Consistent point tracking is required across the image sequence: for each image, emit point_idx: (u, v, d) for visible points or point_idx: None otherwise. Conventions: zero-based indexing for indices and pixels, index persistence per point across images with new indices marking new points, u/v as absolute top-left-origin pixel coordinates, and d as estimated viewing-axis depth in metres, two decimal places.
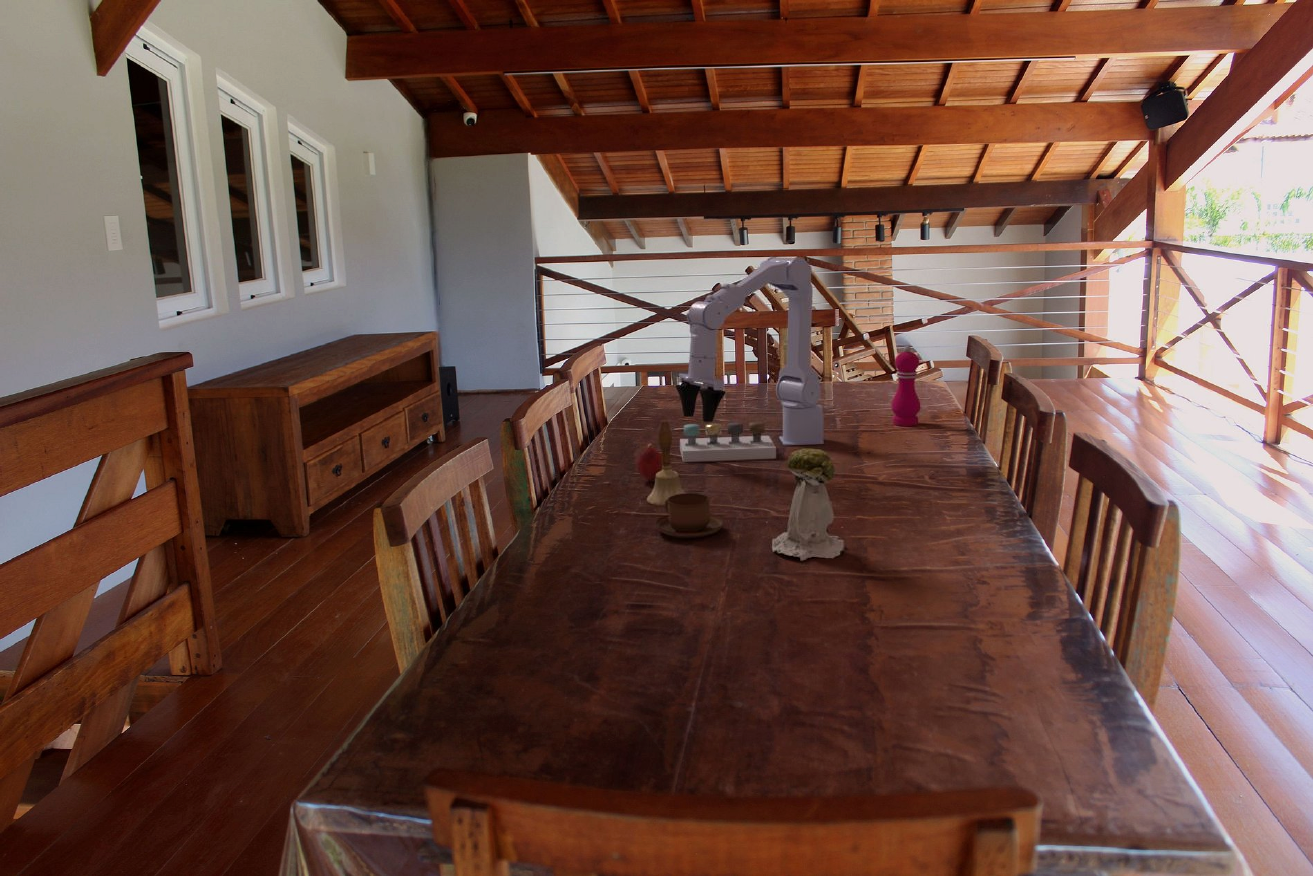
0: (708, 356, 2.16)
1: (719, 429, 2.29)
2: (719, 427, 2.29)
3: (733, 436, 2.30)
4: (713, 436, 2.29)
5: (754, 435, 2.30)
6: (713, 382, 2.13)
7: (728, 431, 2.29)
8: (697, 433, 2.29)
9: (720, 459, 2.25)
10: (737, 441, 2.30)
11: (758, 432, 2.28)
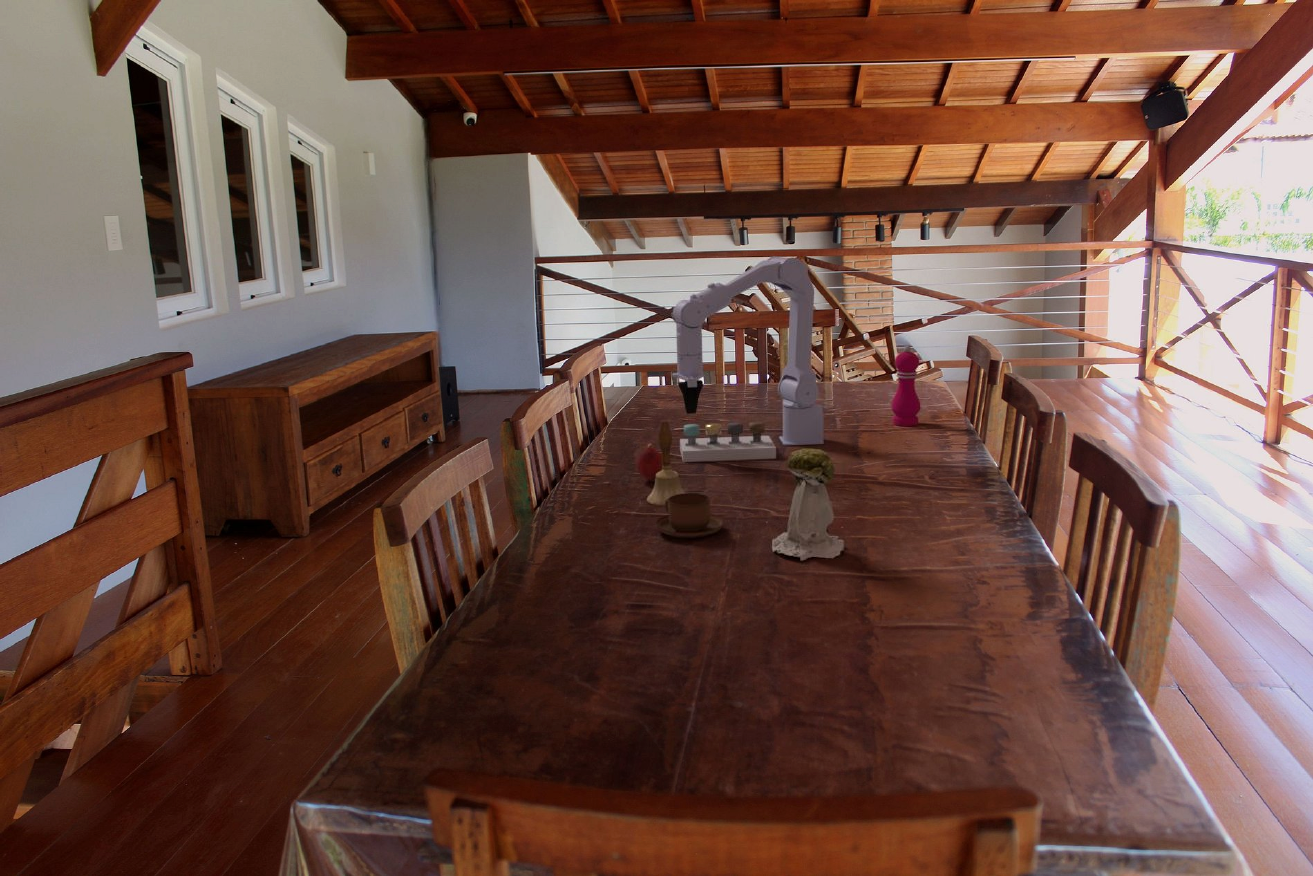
0: (691, 353, 2.23)
1: (719, 429, 2.29)
2: (719, 427, 2.29)
3: (733, 436, 2.30)
4: (713, 436, 2.29)
5: (754, 435, 2.30)
6: (687, 379, 2.21)
7: (728, 431, 2.29)
8: (697, 433, 2.29)
9: (720, 459, 2.25)
10: (737, 441, 2.30)
11: (758, 432, 2.28)
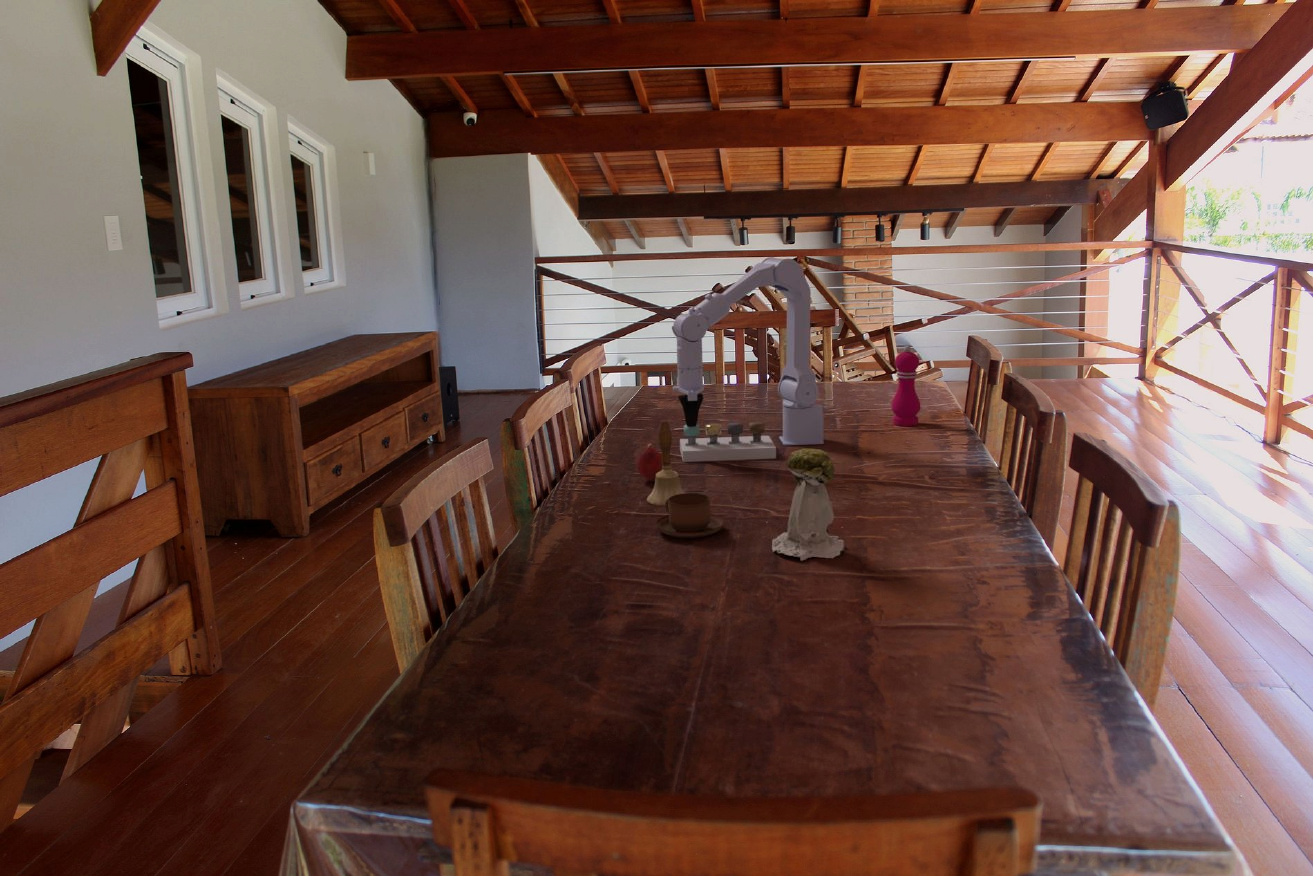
0: (691, 367, 2.24)
1: (719, 429, 2.29)
2: (719, 427, 2.29)
3: (733, 436, 2.30)
4: (713, 436, 2.29)
5: (754, 435, 2.30)
6: (687, 393, 2.21)
7: (728, 431, 2.29)
8: (697, 433, 2.29)
9: (720, 459, 2.25)
10: (737, 441, 2.30)
11: (758, 432, 2.28)
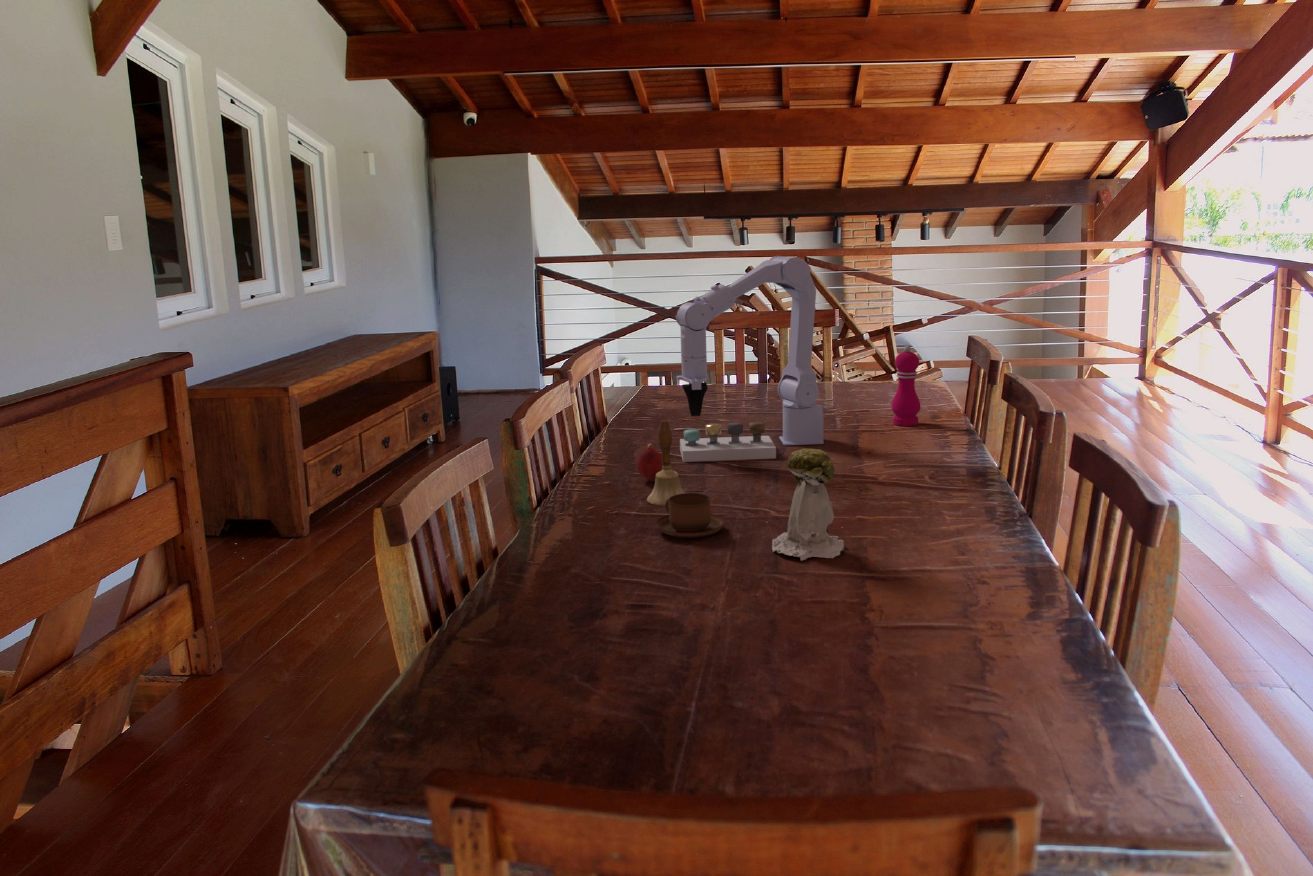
0: (696, 356, 2.23)
1: (719, 429, 2.29)
2: (719, 427, 2.29)
3: (733, 436, 2.30)
4: (713, 436, 2.29)
5: (754, 435, 2.30)
6: (691, 382, 2.21)
7: (728, 431, 2.29)
8: (697, 438, 2.29)
9: (720, 459, 2.25)
10: (737, 441, 2.30)
11: (758, 432, 2.28)
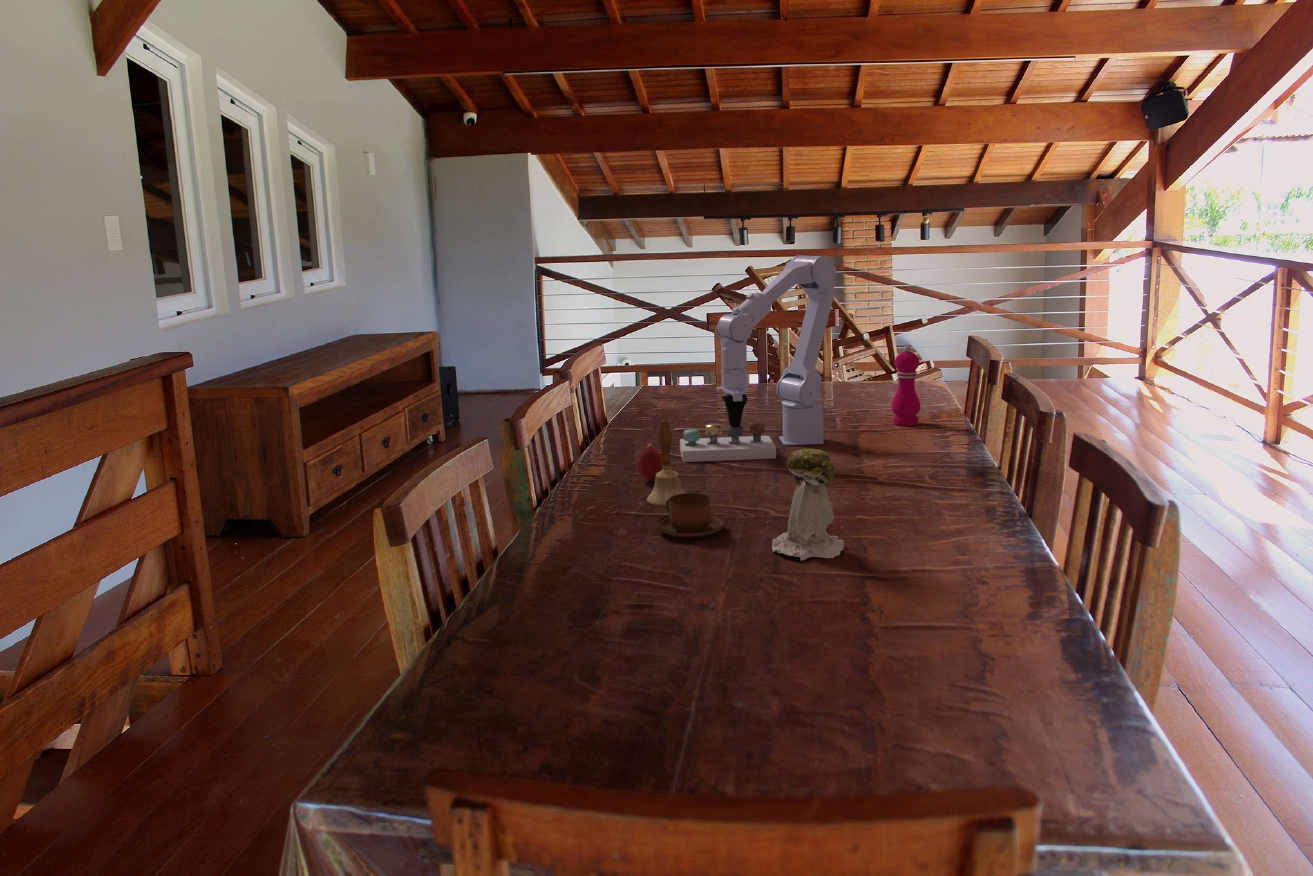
0: (738, 367, 2.24)
1: (719, 429, 2.29)
2: (719, 427, 2.29)
3: (733, 438, 2.30)
4: (713, 436, 2.29)
5: (754, 435, 2.30)
6: (732, 393, 2.22)
7: (728, 433, 2.29)
8: (697, 438, 2.29)
9: (720, 459, 2.25)
10: (737, 443, 2.30)
11: (758, 432, 2.28)
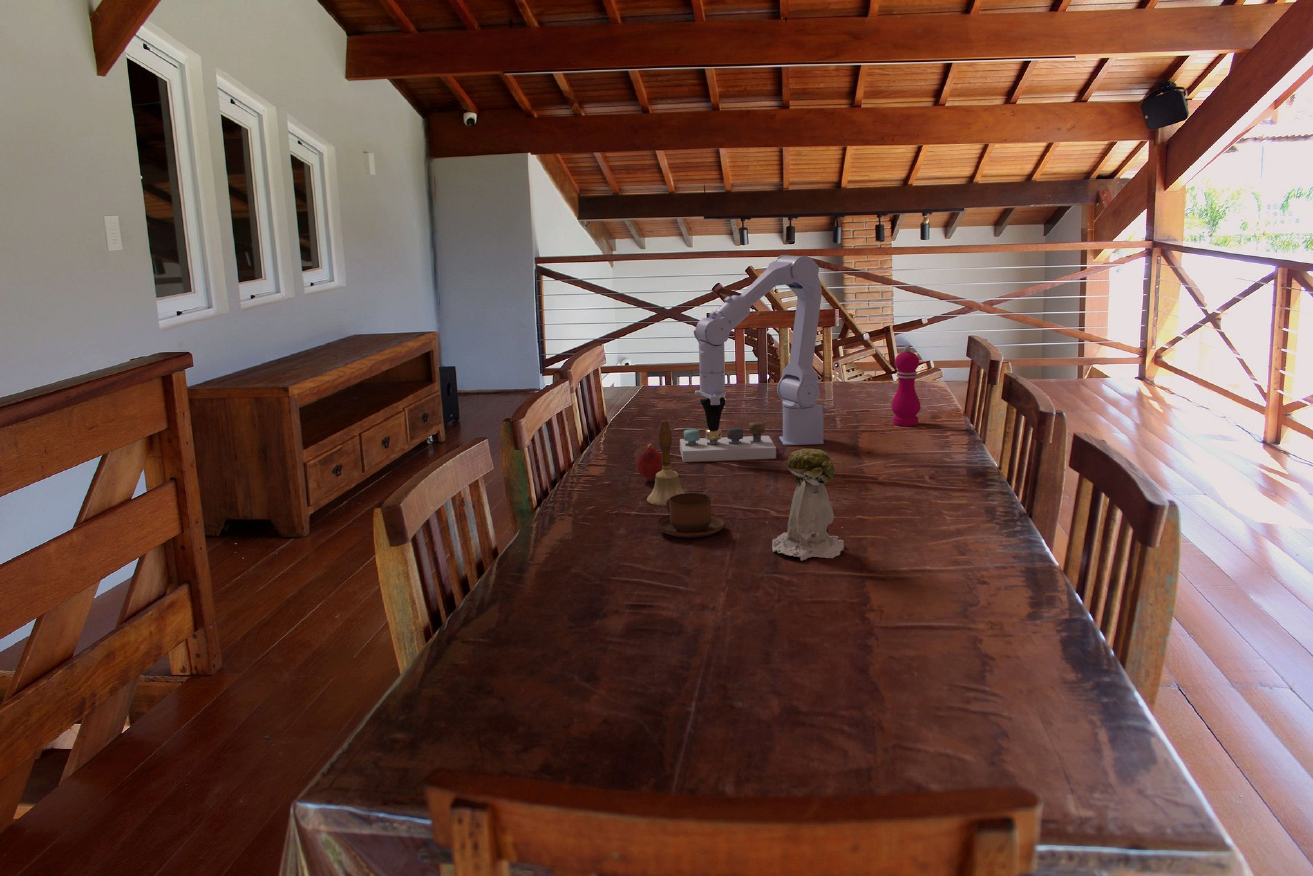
0: (715, 371, 2.24)
1: (719, 434, 2.29)
2: (719, 432, 2.29)
3: (733, 441, 2.30)
4: (713, 441, 2.30)
5: (754, 435, 2.30)
6: (710, 397, 2.22)
7: (728, 436, 2.30)
8: (697, 438, 2.29)
9: (720, 459, 2.25)
10: None
11: (758, 432, 2.28)
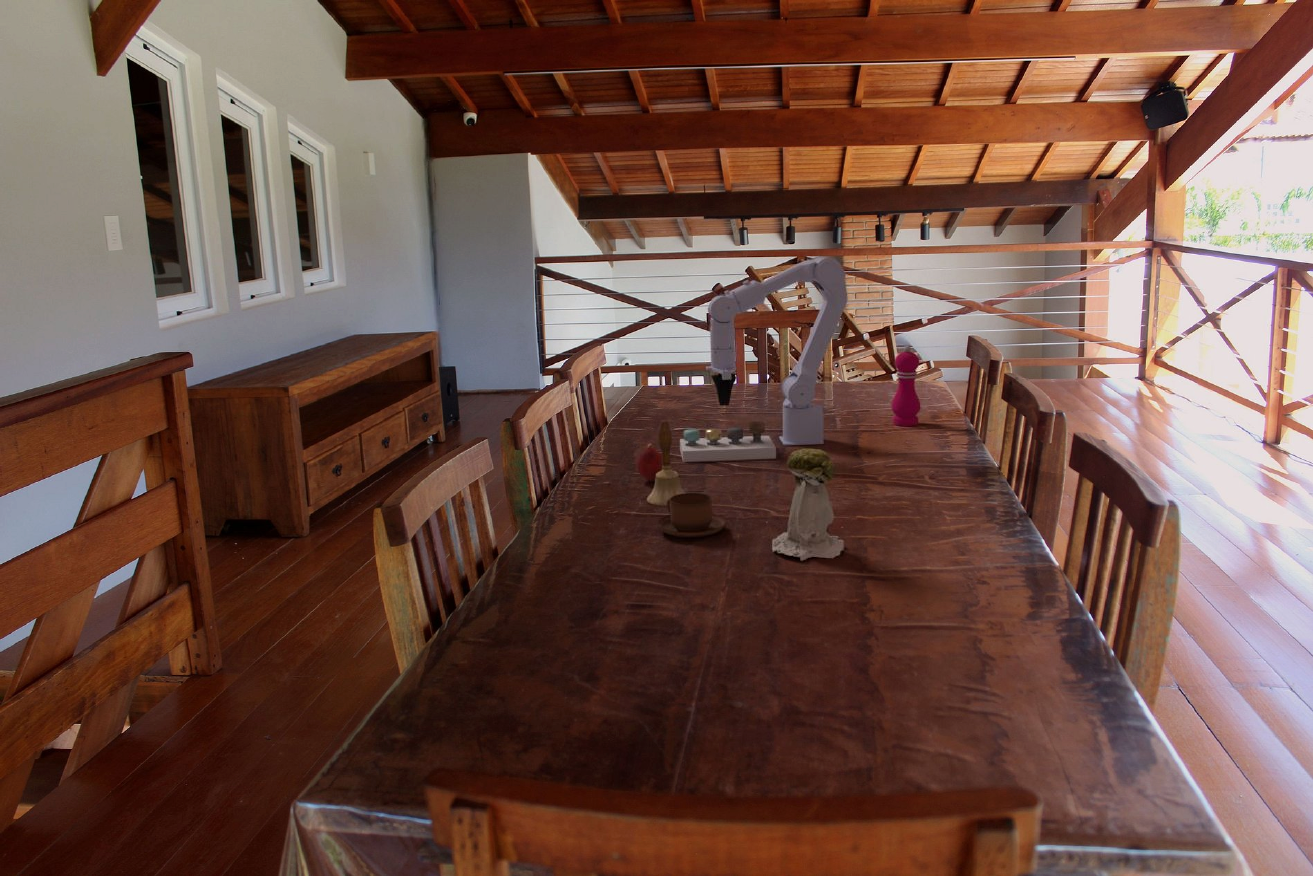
0: (721, 347, 2.31)
1: (719, 434, 2.29)
2: (719, 432, 2.29)
3: (733, 441, 2.30)
4: (713, 441, 2.30)
5: (754, 435, 2.30)
6: (721, 372, 2.29)
7: (728, 436, 2.30)
8: (697, 438, 2.29)
9: (720, 459, 2.25)
10: None
11: (758, 432, 2.28)
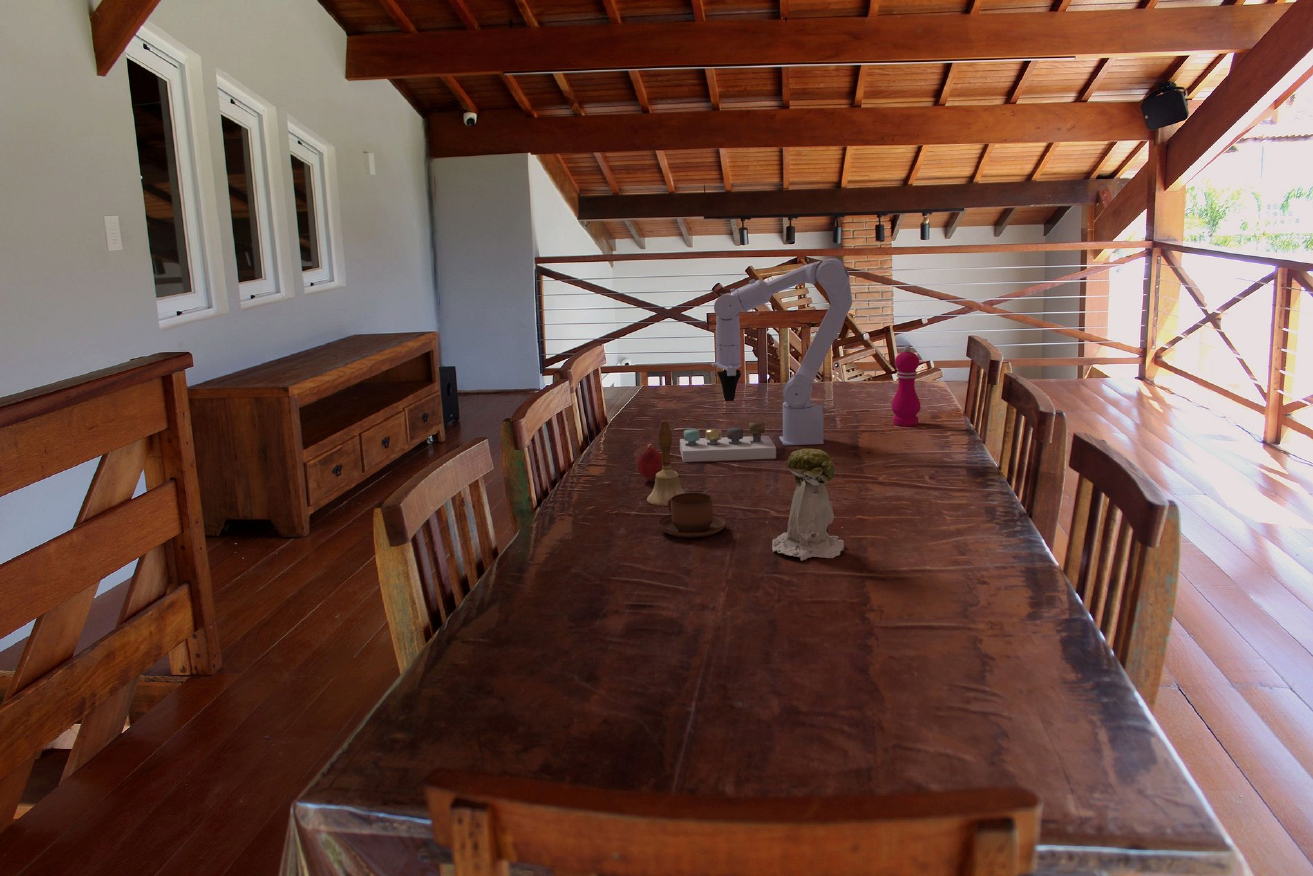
0: (723, 344, 2.36)
1: (719, 434, 2.29)
2: (719, 432, 2.29)
3: (733, 441, 2.30)
4: (713, 441, 2.30)
5: (754, 435, 2.30)
6: (726, 368, 2.34)
7: (728, 436, 2.30)
8: (697, 438, 2.29)
9: (720, 459, 2.25)
10: None
11: (758, 432, 2.28)
